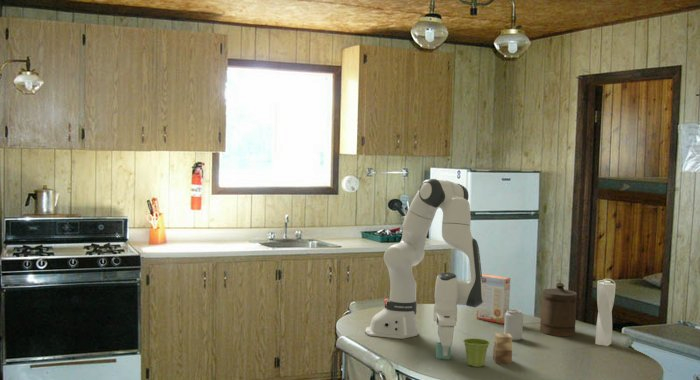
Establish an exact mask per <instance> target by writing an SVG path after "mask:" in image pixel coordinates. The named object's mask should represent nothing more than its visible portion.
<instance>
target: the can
mask: <svg viewBox="0 0 700 380" xmlns="http://www.w3.org/2000/svg"><path fill="white" fill-rule="evenodd" d="M523 322H524V314H523V312H522V310H520V309H510V308H509V310H507V312H506V313H505V323H503V324H504V325H503V328H504V330H503V334H510V335H511V336H512V341H520V340H521V339H523V327H524V326H523V324H524V323H523Z"/></svg>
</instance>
